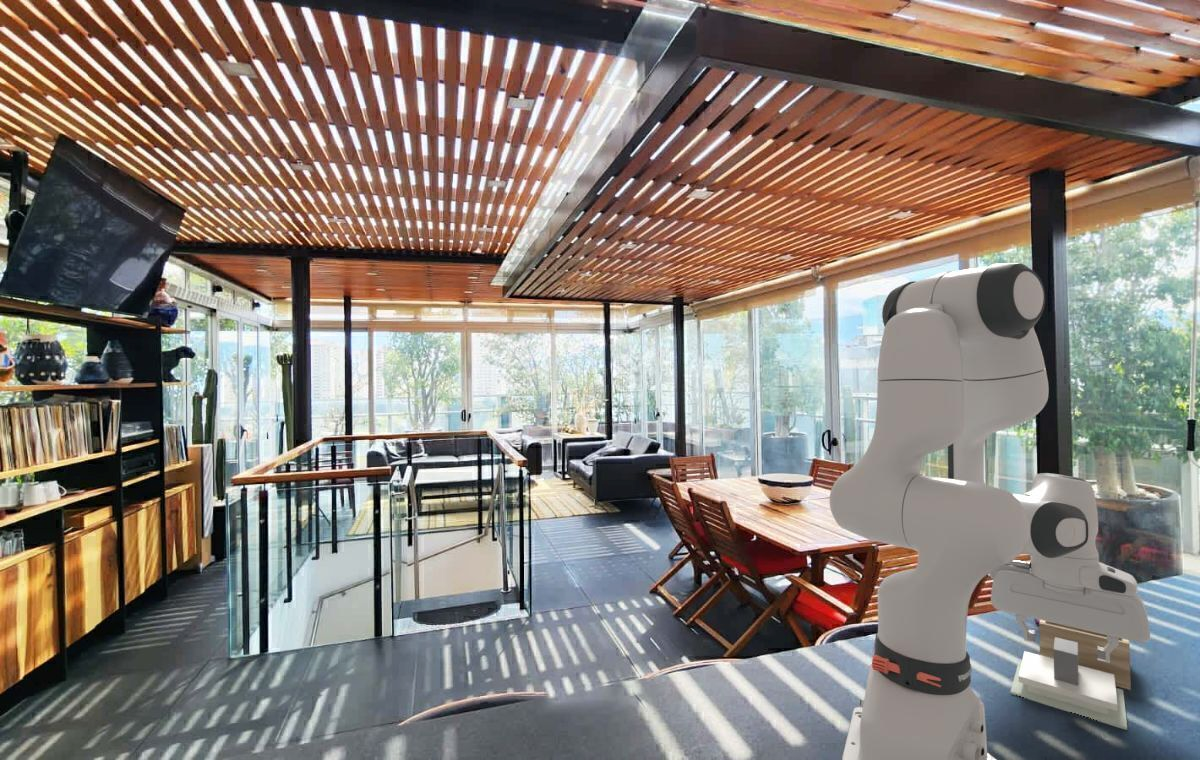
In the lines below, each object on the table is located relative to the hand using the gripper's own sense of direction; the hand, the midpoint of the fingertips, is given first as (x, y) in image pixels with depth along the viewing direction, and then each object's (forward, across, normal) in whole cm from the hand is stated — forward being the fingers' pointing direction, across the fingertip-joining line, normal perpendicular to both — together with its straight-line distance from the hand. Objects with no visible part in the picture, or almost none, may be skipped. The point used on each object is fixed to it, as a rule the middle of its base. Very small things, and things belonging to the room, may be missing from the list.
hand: (1065, 650), depth 89 cm
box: (+7, +2, +15) cm, 17 cm away
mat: (+7, 0, 0) cm, 7 cm away
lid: (+7, 0, +1) cm, 7 cm away
